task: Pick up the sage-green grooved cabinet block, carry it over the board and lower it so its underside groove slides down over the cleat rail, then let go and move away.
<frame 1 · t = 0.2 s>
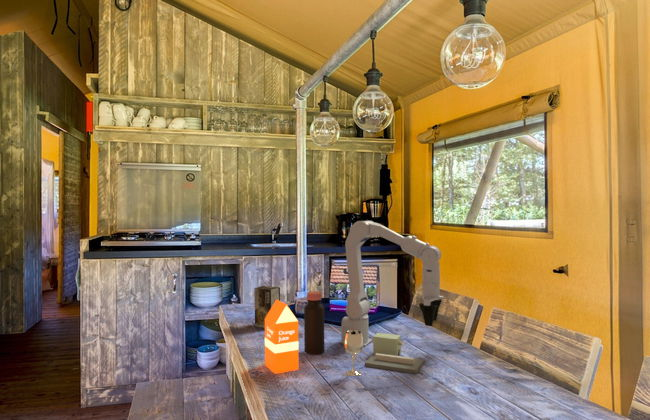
hand: (430, 322, 148), 10 cm above the table, tool pointing down, fingers open, 7 cm apart
cabinet block: (387, 353, 147), on the table
wineglass: (353, 373, 129), on the table
cleat board: (394, 364, 137), on the table
orange juice: (281, 367, 135), on the table
bottle: (314, 352, 149), on the table
coffee box: (267, 326, 182), on the table
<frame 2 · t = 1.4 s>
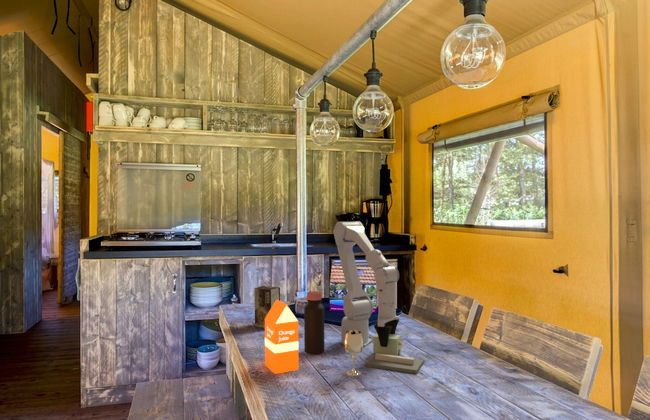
hand: (387, 343, 147), 3 cm above the table, tool pointing down, fingers open, 7 cm apart
nothing on the table moved.
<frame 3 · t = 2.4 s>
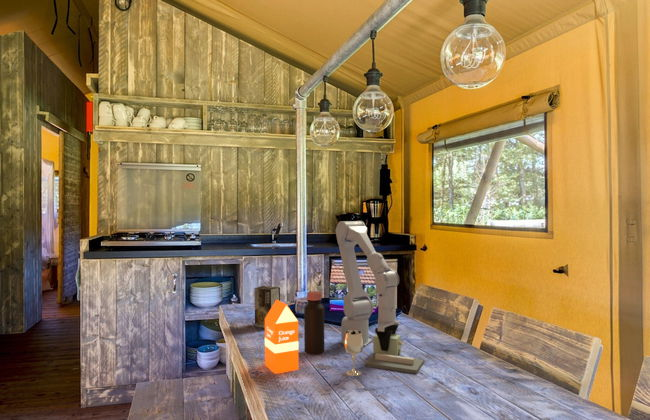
hand: (387, 347, 147), 2 cm above the table, tool pointing down, fingers closed on cabinet block, 5 cm apart
cabinet block: (387, 353, 147), on the table, touching gripper
everything else where it was.
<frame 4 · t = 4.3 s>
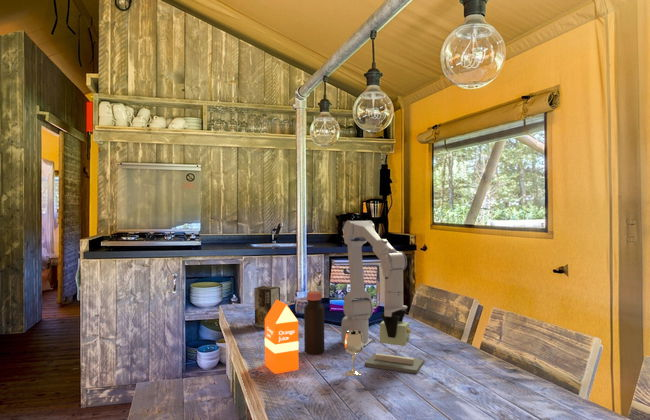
hand: (394, 334, 137), 9 cm above the table, tool pointing down, fingers closed on cabinet block, 5 cm apart
cabinet block: (394, 342, 137), point 7 cm above the table, touching gripper
everything else where it was.
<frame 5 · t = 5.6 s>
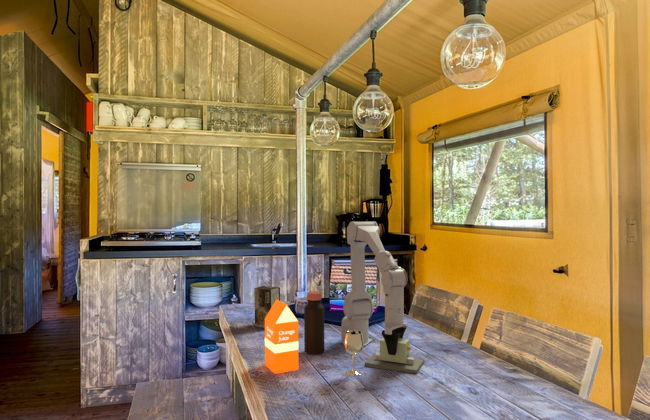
hand: (394, 351, 137), 4 cm above the table, tool pointing down, fingers closed on cabinet block, 5 cm apart
cabinet block: (394, 359, 137), point 2 cm above the table, touching gripper
everything else where it was.
when the fingers open (4 cm above the table, at t = 6.4 s): cabinet block stays where it is, resting on cleat board.
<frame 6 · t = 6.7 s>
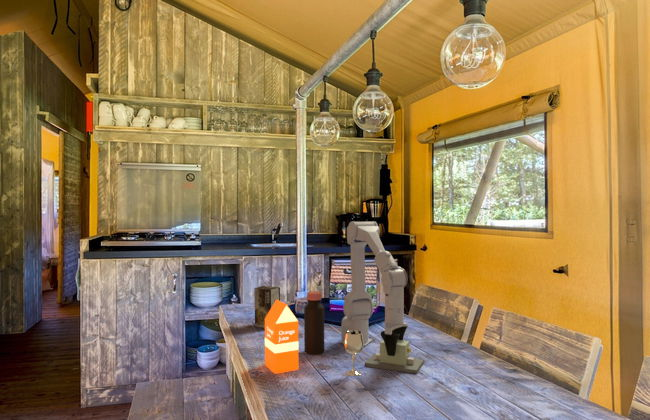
hand: (394, 351, 137), 4 cm above the table, tool pointing down, fingers open, 7 cm apart
cabinet block: (394, 361, 136), point 1 cm above the table, touching cleat board
everything else where it was.
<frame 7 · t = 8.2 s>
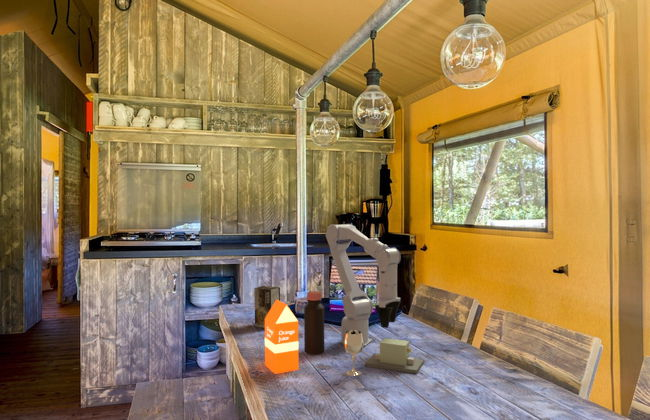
hand: (388, 324, 148), 9 cm above the table, tool pointing down, fingers open, 7 cm apart
nothing on the table moved.
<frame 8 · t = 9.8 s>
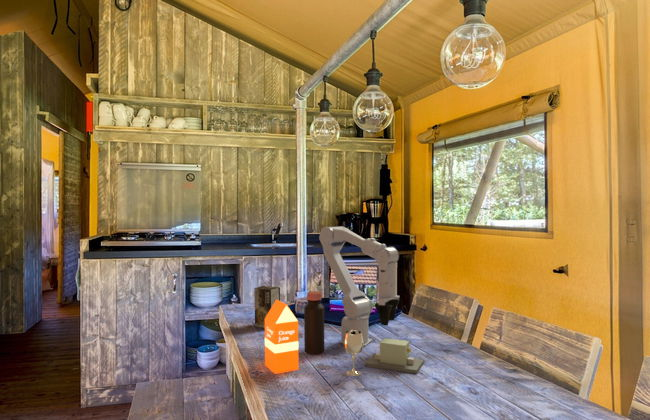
hand: (387, 322, 151), 9 cm above the table, tool pointing down, fingers open, 7 cm apart
nothing on the table moved.
at the end: cabinet block inside the target area on the cleat board (0.1 cm from its centre), point 1.0 cm above the cleat board's base; cabinet block tilted 0°; the gripper is holding nothing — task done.
